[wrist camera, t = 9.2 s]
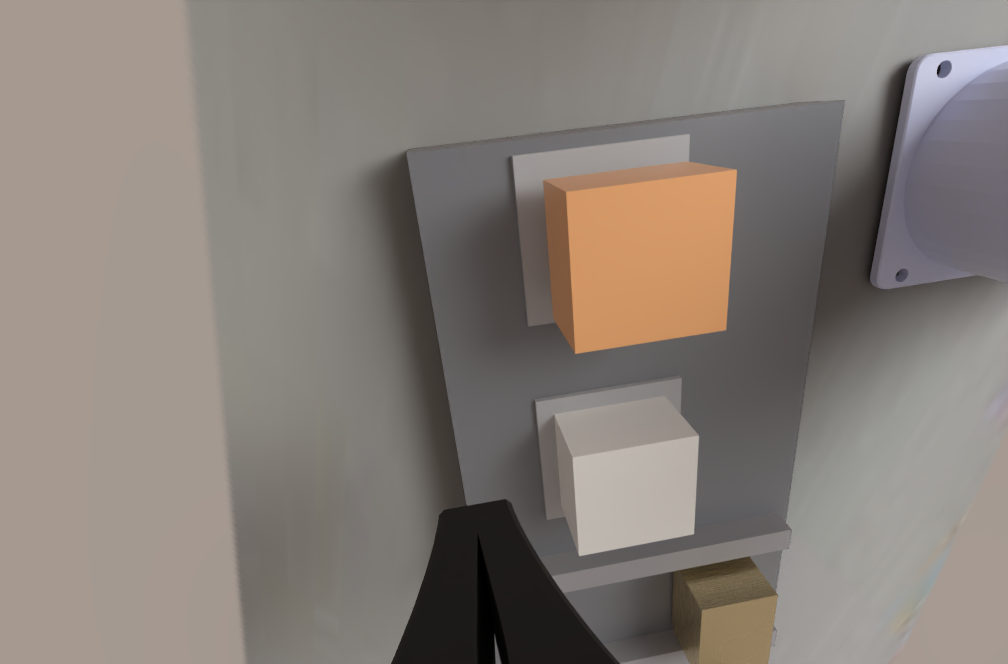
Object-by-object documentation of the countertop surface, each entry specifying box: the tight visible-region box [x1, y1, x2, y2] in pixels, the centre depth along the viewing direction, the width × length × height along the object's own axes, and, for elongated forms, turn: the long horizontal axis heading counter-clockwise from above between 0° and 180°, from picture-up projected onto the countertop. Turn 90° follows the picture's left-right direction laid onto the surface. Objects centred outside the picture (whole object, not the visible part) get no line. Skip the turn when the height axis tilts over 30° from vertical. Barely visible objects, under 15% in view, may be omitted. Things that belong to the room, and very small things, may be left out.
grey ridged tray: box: [406, 100, 845, 664], centre depth 20 cm, size 13×24×3 cm, turn 6°
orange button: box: [543, 161, 737, 354], centre depth 14 cm, size 4×4×2 cm
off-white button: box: [554, 396, 699, 556], centre depth 18 cm, size 4×4×2 cm
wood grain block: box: [672, 556, 778, 664], centre depth 21 cm, size 3×4×2 cm
